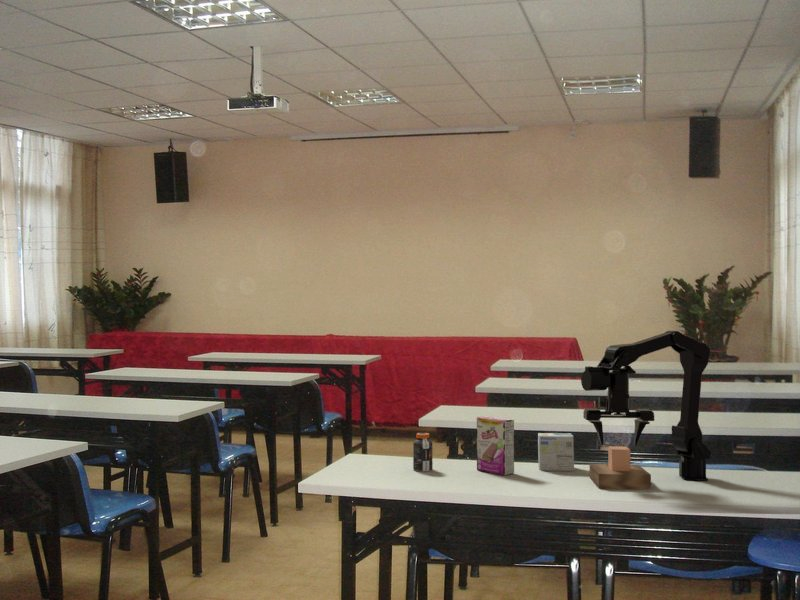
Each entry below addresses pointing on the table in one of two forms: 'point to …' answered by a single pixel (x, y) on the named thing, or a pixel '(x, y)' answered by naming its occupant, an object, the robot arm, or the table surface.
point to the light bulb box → (556, 451)
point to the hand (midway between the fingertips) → (618, 445)
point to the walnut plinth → (620, 477)
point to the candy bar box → (495, 445)
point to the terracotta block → (619, 458)
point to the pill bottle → (422, 453)
